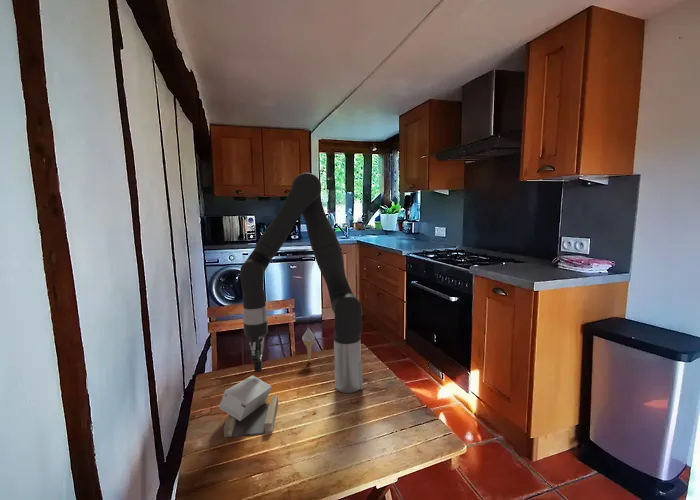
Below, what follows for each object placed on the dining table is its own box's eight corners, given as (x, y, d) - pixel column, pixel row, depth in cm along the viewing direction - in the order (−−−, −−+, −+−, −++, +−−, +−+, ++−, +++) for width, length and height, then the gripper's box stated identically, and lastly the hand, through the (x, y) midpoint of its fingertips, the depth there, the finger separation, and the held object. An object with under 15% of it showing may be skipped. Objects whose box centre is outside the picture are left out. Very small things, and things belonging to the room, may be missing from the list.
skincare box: (247, 389, 110) (216, 408, 96) (253, 373, 110) (223, 389, 95) (267, 402, 108) (239, 423, 93) (273, 385, 107) (246, 404, 93)
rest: (278, 404, 106) (277, 395, 105) (272, 433, 92) (271, 423, 92) (236, 408, 105) (235, 399, 104) (224, 437, 91) (223, 427, 90)
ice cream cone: (317, 359, 139) (316, 324, 137) (314, 365, 133) (313, 329, 132) (304, 358, 139) (303, 324, 138) (301, 364, 134) (299, 329, 132)
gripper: (263, 326, 101) (266, 379, 103) (270, 313, 114) (272, 361, 116) (238, 327, 100) (242, 381, 102) (248, 314, 113) (250, 362, 115)
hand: (258, 370), depth 109 cm, fingers closed
